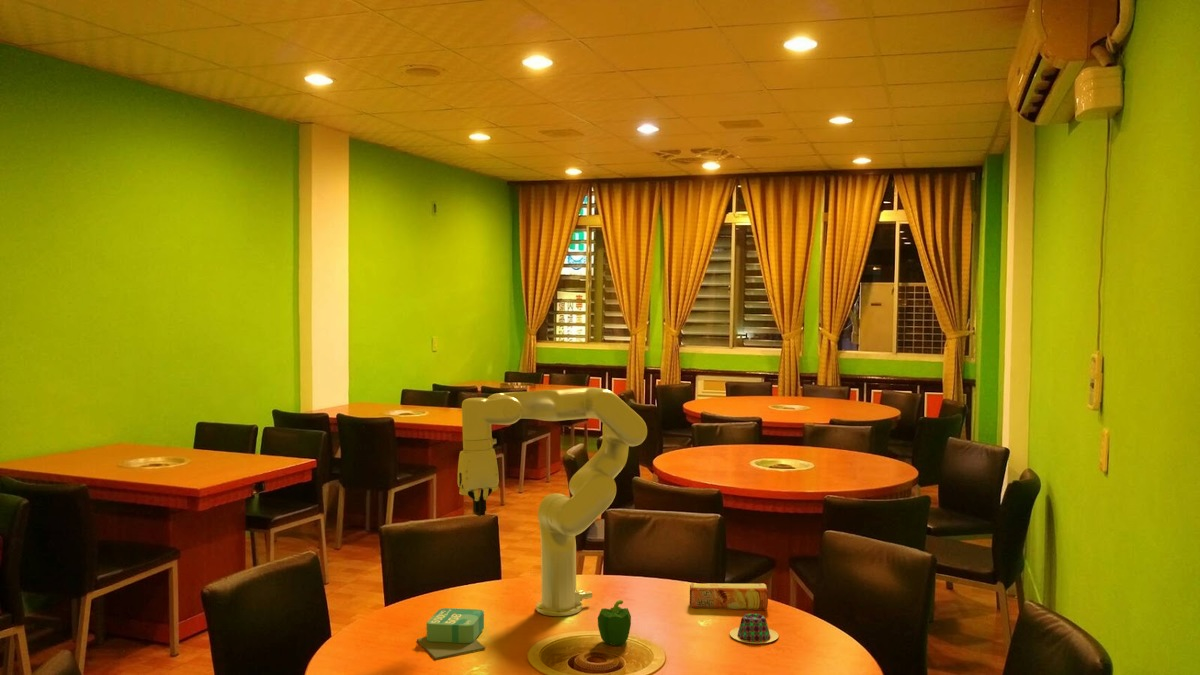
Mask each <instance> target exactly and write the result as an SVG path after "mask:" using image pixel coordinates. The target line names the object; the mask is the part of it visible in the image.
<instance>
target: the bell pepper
mask: <svg viewBox="0 0 1200 675" xmlns="http://www.w3.org/2000/svg"><path fill="white" fill-rule="evenodd" d="M623 603H624V600H622V599H618V600H617V601H616V602H615V603H614V605H613V607H611V608H601V610H600V611H599V614H598V617H597V628H598V630H599V634H600V637H601V639H602V642H604V644H607V645H612V646H616V647H617V646H622V645H625V644H626V642H627V641H628V639H629V634H630V629H631V626H632V625H631V624H632V622H631V621H632V616H631V613H630V611H629V609H628V607H627V608H626V607H625V608H622V607H620V605H623Z"/></svg>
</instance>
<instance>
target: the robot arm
mask: <svg viewBox="0 0 1200 675" xmlns="http://www.w3.org/2000/svg"><path fill="white" fill-rule="evenodd" d="M461 419H462V420H461V423H462V424H461V425H462V428H461V429H462V448H463V449H462V450H461V451H459V454H458V455H459V456H458V462H457V464H458V465H457V486H458V488H459V492H458V493H459V494H460V495H461V496H468V497H469V498H470V499H471V500H472V508H473V509H472V510H473V513H474V515H475V516H478V517H482V516H486V511H487V500H488V499H489V496H490V495H491V494H492V493H493V492H496V491H497V490H499V484H500V482H499V481H500V480H499V477H500V476H499V468H498V459H497V454H496V451H495V448H493V447H494V445H496V444H497V438H493V436H492V435H493V434H492V432H493V431H492V425H503V426H509V425H513V424H515V423H517V422H518V421H519V420H521V419H527V420H528V419H529V420H530V419H531V420H538V421H544V422H545V421H546V422H559V421H561V422H562V421H570V420H572V421H573V420H581V419H582V420H584V419H596V420H599V421H600V422H601V423H602V441H601V446H600V447H599V449H598V450H597V451H596V453H595V454H594V455H593V456H592V457H591V458H590V459H589V460H588V461H587V462H586V463H584V465H583V466H582V467H581V468H579V469H578V470H577V471H576V472H575V473H574V474H572V477H571V478H570V480H569V482H568V483H569V484H568V489H569V492H570V494H571V495H572V496H571V497H570V496H567V495H566V494H562V493H558V492H557V493H550V494H547V495H546V496H545V497H544V498H542V500H541V501H540V503H539V507H538V509H537V510H538V511H537V518H538V519H537V520H538V525H539V526H538V527H539V531H540V533H539V534H540V556H541V557H540V562H541V563H540V564H541V565H540V568H541V571H540V572H541V582H540V583H541V584H540V585H541V600H540V601H538V602H537V603H536V605H535V610H536V612H537V613H538V614H541V615H544V616H549V617H566V616H573V615H575V614H578V613H579V612H581V611H582V609H583V603H582V601H583V600H588V599H592V598H593V592H592V591H591V590H589V591H584V590H581V589H580V590H577V543H576V536H578V535H580V534H582V533H583V532H585V531H586V530H587V529H588V528H589V527H590V526H591V525H592V524H593V523H594V522H595V521H596V520H597V519H598V518H599V517H600V516H601V515H602V514H603V513H604V512H605V511H606V510H607V509H608V508H610V505H612V503H613V502H614V499H615V497H616V495H617V484H616V480H615V478H616V477H617V476H618V475H619V473H621V471H622V470H623V468H625V467H626V464H627V461H628V457H629V449H630V448H629V447H637V446H639V445H642V444H643V442H644V441H645V440H646V439H647V436H648V426H647V424H646V422H645V420H644V419H643V417H641V416H640V415H639V414H638V413H637V412H636V411H635V410H634V409H633V408H631V407H630V405H628V404H627V403H626V402H625V401H624V400H622V398H620V397H619V396H618V395H617V394H616V393H614V392H613V391H612V390H609V389H606V388H600V387H589V386H588V387H576V388H564V389H563V388H562V389H561V388H560V389H546V390H533V391H529V390H528V391H512V392H499V393H498V392H496V393H493V394H490V395H489V396H488V397H487V398H486V397H470V398H465V399H464V400H463V401H462V402H461Z"/></svg>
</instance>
